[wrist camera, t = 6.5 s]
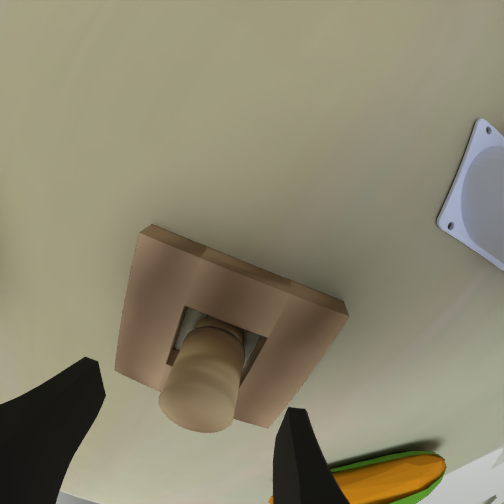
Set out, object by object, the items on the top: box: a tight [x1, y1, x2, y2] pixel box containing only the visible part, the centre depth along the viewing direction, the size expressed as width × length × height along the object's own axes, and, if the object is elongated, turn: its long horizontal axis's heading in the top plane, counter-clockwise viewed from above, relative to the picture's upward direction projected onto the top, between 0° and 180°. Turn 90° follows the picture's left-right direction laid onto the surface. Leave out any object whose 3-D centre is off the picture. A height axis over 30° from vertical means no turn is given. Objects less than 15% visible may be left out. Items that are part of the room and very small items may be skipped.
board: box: [114, 224, 349, 428], centre depth 20 cm, size 13×12×2 cm
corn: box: [269, 451, 446, 504], centre depth 23 cm, size 7×8×20 cm
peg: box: [159, 316, 245, 433], centre depth 17 cm, size 4×4×7 cm
